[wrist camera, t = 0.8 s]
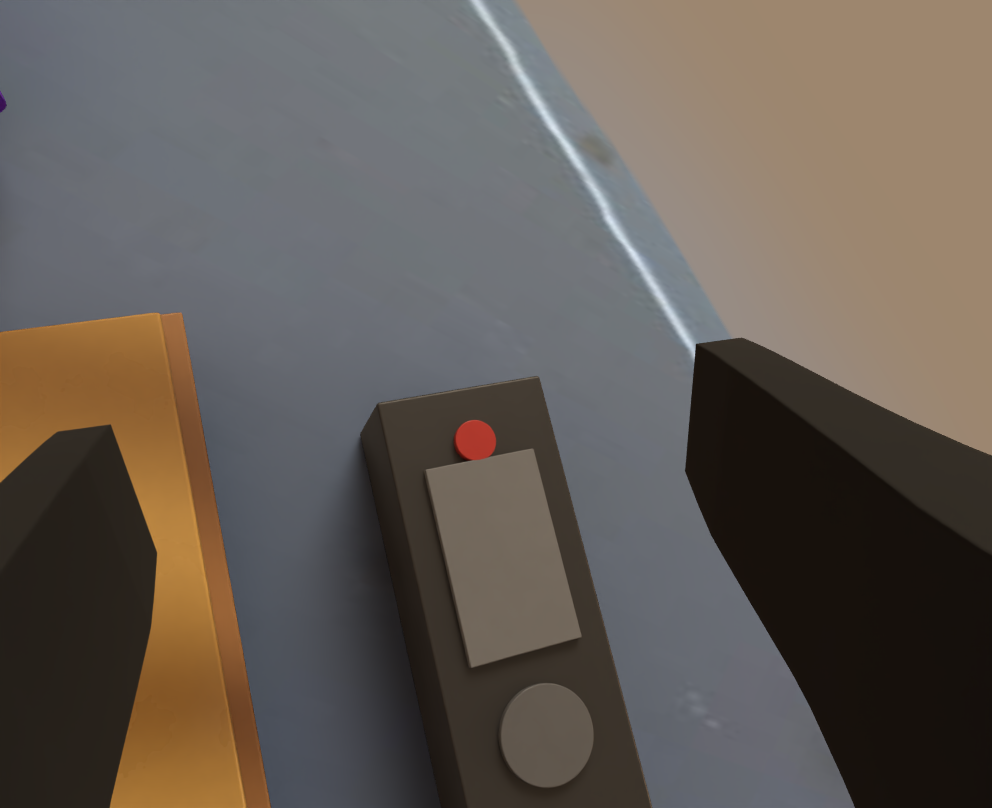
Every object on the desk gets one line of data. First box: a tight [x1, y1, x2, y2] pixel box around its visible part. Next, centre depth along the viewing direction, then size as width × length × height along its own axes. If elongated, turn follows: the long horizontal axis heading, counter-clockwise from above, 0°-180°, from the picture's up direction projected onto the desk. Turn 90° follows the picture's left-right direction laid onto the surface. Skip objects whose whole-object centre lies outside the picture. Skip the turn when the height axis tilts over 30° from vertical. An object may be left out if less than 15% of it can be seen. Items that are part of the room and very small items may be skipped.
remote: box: [360, 376, 652, 808], centre depth 23 cm, size 15×5×4 cm, turn 15°
